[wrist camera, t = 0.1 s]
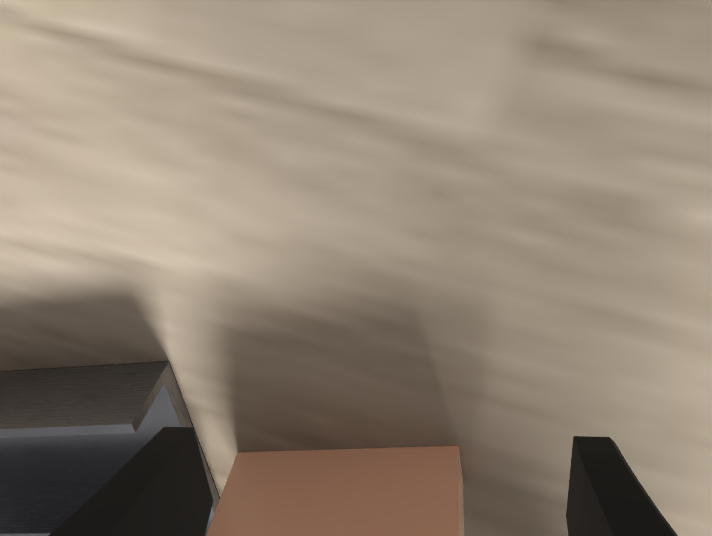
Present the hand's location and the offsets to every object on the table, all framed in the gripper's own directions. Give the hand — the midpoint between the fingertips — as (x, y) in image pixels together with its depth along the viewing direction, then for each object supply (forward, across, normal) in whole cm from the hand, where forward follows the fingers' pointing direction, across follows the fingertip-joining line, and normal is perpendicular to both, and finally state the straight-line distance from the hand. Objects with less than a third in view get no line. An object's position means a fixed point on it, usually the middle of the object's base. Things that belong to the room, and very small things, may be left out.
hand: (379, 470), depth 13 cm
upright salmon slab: (+10, +3, +10) cm, 15 cm away
